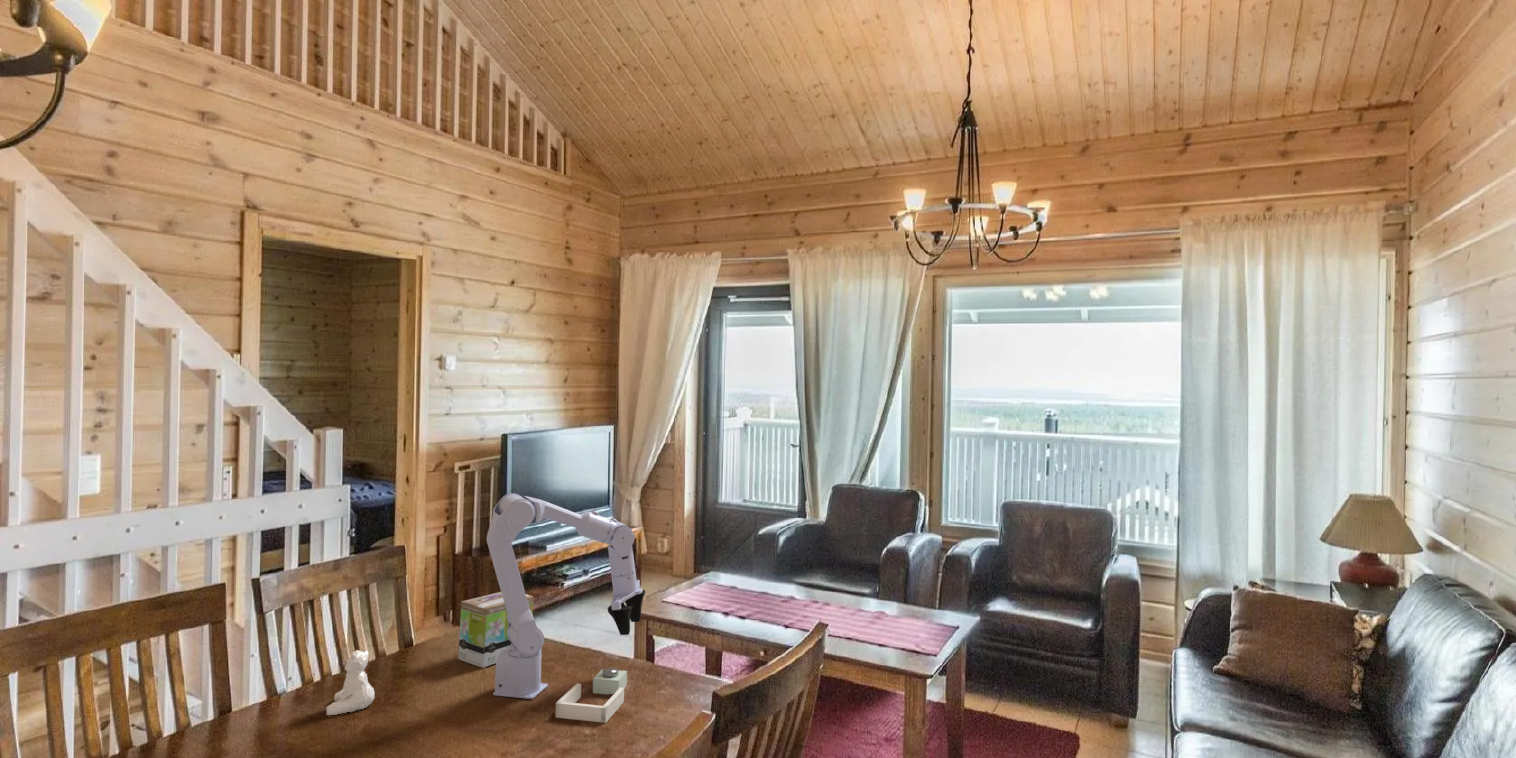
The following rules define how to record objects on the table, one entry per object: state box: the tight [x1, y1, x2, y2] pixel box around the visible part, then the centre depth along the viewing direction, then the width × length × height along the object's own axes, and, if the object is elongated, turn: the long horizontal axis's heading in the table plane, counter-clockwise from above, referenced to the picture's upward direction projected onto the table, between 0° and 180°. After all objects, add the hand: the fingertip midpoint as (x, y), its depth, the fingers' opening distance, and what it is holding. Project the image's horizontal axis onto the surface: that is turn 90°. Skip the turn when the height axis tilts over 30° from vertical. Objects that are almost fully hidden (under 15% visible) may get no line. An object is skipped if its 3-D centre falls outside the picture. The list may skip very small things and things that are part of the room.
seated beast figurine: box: [325, 649, 376, 716], centre depth 173 cm, size 10×9×12 cm
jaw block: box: [592, 666, 628, 695], centre depth 186 cm, size 6×6×4 cm
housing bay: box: [554, 683, 625, 724], centre depth 174 cm, size 11×11×3 cm
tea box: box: [458, 591, 534, 669], centre depth 205 cm, size 15×10×15 cm
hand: (630, 627), depth 195 cm, fingers open, 7 cm apart
